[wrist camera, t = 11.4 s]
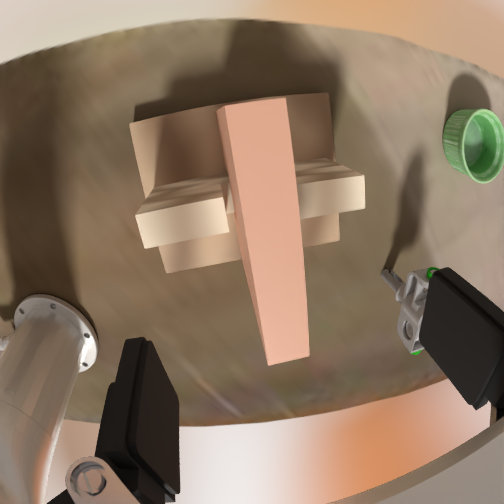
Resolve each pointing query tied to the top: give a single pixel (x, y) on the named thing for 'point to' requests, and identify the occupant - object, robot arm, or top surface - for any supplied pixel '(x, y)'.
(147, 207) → the slotted stand
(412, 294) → the mechanical component
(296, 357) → the salmon pink flat slab
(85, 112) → the top surface
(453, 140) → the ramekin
